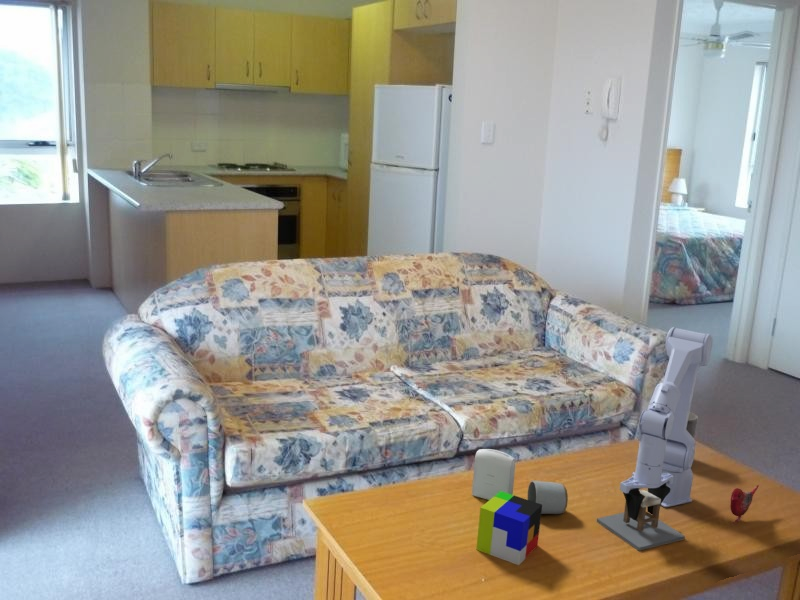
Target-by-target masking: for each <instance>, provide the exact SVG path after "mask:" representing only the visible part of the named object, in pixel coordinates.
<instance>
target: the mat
mask: <svg viewBox="0 0 800 600" xmlns="http://www.w3.org/2000/svg"><path fill="white" fill-rule="evenodd" d="M647 518H649V517H648V516H646V515H645V519H647ZM623 520H624V512H620V513H616V514H611V515H607V516H606V515H605V516H603V517H597V518H596V523H598V524H599V525H601V526H602V527H603V528H605V529H607V530H608V531H610V532H611V533H612V534H614V535H615V536H616V537H619V539H621V540H623V541H624V542H626V543H627V544H628V545H630V546H631V547H632V548H634V549H636V550H637V551H638V552H640V551H643V550H648V549H651V548H655V547H659V546H663V545H667V544H671V543H675V542H679V541H683V540H685V538H686V535H684V534H683V533H681V532H679V531H678V530H676V529H675V528H673V527H671V526H670V525H668V524H667V523H665V522H664V521H663V520H661V519H660V518H659V519H658V526H657V528H653V527H651V522H652V521H651V522H647V523H644V529H643V531H639V530H637V524H638V522H637V521H635V520H633V519H632V518H630V522H629V523H625V522H624V521H623Z"/></svg>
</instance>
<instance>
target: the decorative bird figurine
mask: <svg viewBox="0 0 800 600" xmlns="http://www.w3.org/2000/svg"><path fill="white" fill-rule="evenodd" d="M758 488H759V484H757V485H756V486H755V487H754V488H753V489H752V490H751V491H750V492H749V491H743V490H742V489H741V488H738V487H736V488H734V489H733V490H732V493H731V494H730V495H731V496H730V505H729V506H730V511H731V513H732V515H734V516H736V517H737V518H736V519H735V520H734V522H733V524H736V522H737V523H739V521H741V518H742V517H743V515H745V514H746V513H747V512H748V510H749V508H750V506H751V504H752V502H753V497H754V495H755V493H756V492H757V490H758Z"/></svg>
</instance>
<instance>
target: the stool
mask: <svg viewBox="0 0 800 600" xmlns="http://www.w3.org/2000/svg"><path fill="white" fill-rule="evenodd" d="M639 491H640V493H641V494H642V495H644V496H645V498H644V499H643V501H642V503H641V506H640V509H639V514H638V517H637V520H635V521H637V522H638V524H637V530H639V531H643V529H644V523H647V522H651V521H652V522H651V527H653V528H657V526H658V519H659V520H660V512H661V511H660V509H661V505H660V503H661V499H660V498H658V497H656V496H655V495H653V494H651V493H649V492H647V491H648V490H646V489H642V490H641V489H639ZM652 505H654V507H653V515H652V514H650V513H649V512H648V511H647V506H652ZM623 513H624V520H623V521H624V522H625V523H629V522H630V517H629V516H628V509H627V503H626V502H625V503H624V512H623ZM645 515H646V516H648V517H649V518H647V519H645Z"/></svg>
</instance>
